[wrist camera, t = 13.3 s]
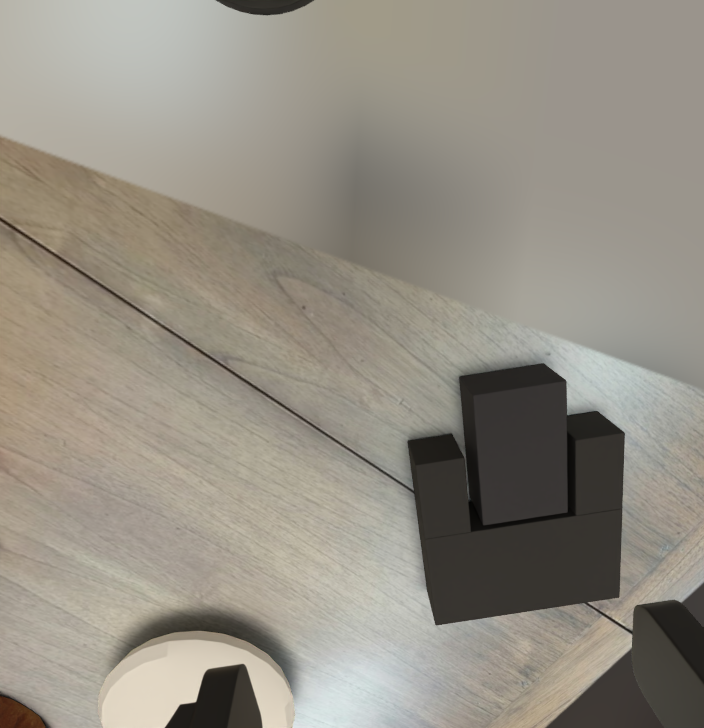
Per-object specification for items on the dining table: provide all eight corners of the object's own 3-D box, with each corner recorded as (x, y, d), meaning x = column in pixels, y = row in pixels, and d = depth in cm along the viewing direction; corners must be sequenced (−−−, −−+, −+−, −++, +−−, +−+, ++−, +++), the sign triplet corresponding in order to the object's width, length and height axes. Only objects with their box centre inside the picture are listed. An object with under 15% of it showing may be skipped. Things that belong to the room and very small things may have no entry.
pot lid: (82, 701, 42) (35, 795, 36) (167, 578, 38) (132, 658, 32) (239, 764, 46) (223, 861, 39) (332, 657, 42) (332, 744, 35)
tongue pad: (459, 376, 34) (472, 395, 30) (543, 363, 34) (566, 380, 30) (469, 497, 37) (483, 525, 34) (547, 485, 37) (568, 512, 34)
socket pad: (407, 440, 35) (415, 465, 32) (597, 410, 35) (625, 432, 32) (427, 590, 40) (435, 625, 36) (595, 564, 40) (619, 597, 36)
